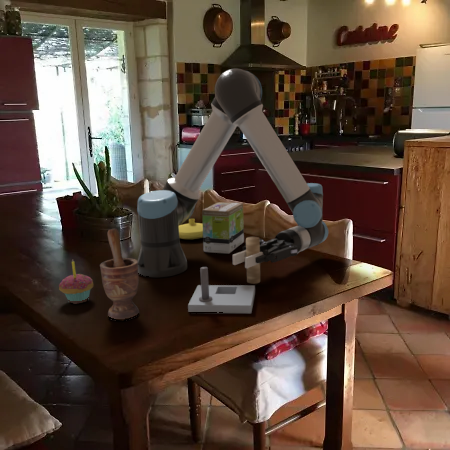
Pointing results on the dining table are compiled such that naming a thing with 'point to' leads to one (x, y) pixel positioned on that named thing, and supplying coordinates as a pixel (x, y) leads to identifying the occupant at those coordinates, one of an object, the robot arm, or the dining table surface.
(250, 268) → the dowel
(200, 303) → the board
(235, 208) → the tea box
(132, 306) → the mortar and pestle
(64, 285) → the cupcake
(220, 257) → the dining table surface
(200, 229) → the yellow pot lid
